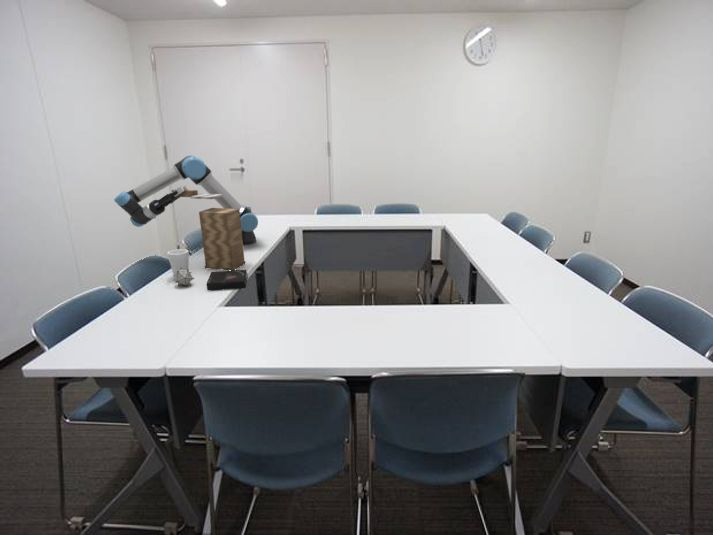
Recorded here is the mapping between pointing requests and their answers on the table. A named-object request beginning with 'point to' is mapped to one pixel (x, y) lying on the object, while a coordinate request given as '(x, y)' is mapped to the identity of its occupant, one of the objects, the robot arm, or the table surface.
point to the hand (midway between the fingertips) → (184, 188)
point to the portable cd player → (227, 280)
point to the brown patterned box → (222, 238)
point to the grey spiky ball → (183, 277)
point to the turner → (197, 195)
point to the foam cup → (179, 260)
